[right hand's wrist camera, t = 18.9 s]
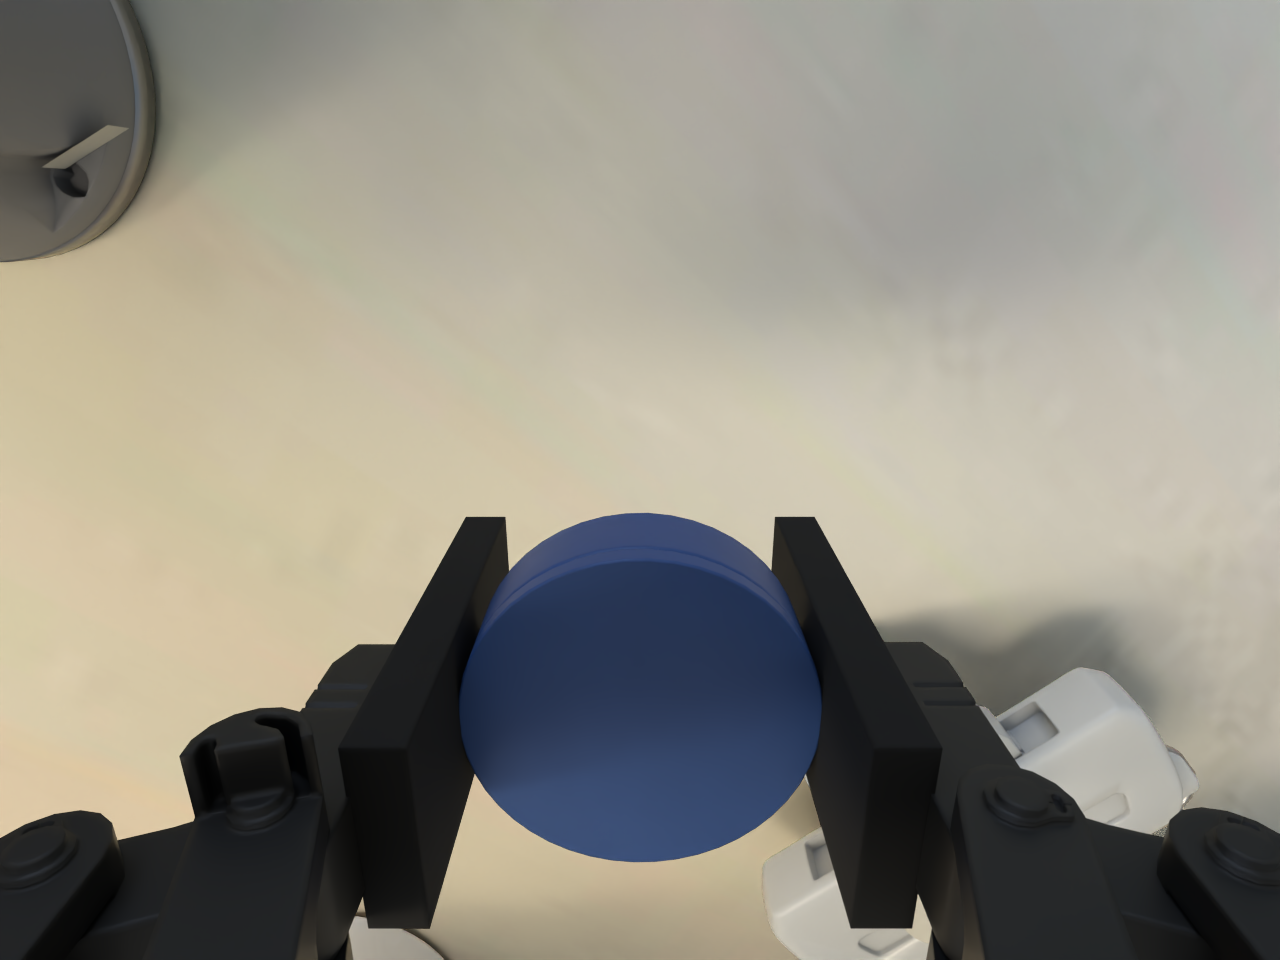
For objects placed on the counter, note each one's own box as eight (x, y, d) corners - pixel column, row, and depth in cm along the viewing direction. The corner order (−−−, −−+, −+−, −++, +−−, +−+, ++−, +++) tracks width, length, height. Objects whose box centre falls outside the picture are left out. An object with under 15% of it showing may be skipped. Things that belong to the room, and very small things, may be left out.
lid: (745, 464, 11) (762, 507, 10) (836, 736, 13) (863, 810, 11) (426, 572, 12) (394, 628, 10) (553, 818, 13) (541, 898, 12)
